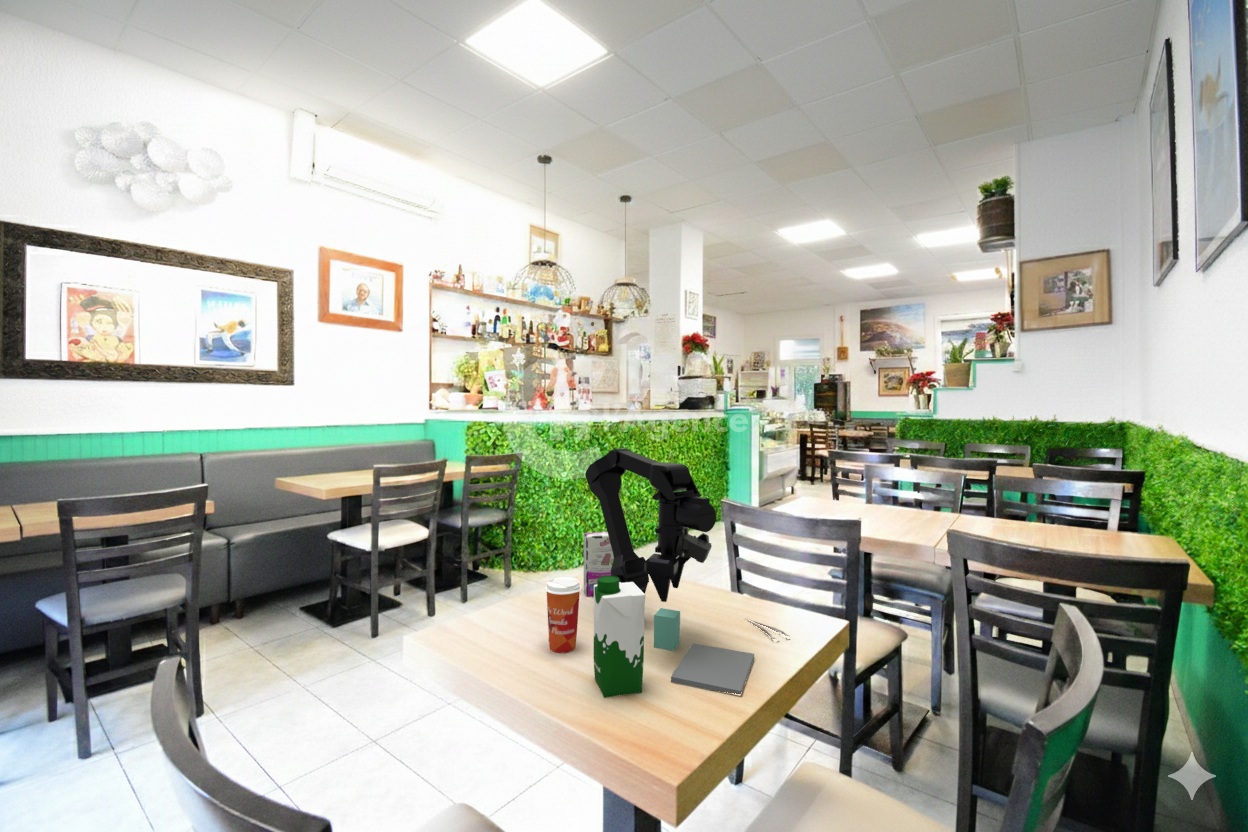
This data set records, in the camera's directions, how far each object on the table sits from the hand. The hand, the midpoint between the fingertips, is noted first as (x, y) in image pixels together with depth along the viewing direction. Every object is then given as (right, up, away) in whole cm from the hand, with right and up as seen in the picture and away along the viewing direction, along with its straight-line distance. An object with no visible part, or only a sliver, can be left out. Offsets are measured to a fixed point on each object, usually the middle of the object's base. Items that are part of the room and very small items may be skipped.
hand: (670, 594), depth 119 cm
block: (-1, -11, 0) cm, 11 cm away
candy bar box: (-15, -10, +33) cm, 38 cm away
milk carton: (-11, -11, -18) cm, 24 cm away
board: (+8, -11, -11) cm, 18 cm away
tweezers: (+22, -12, +11) cm, 27 cm away
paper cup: (-23, -11, -2) cm, 26 cm away
